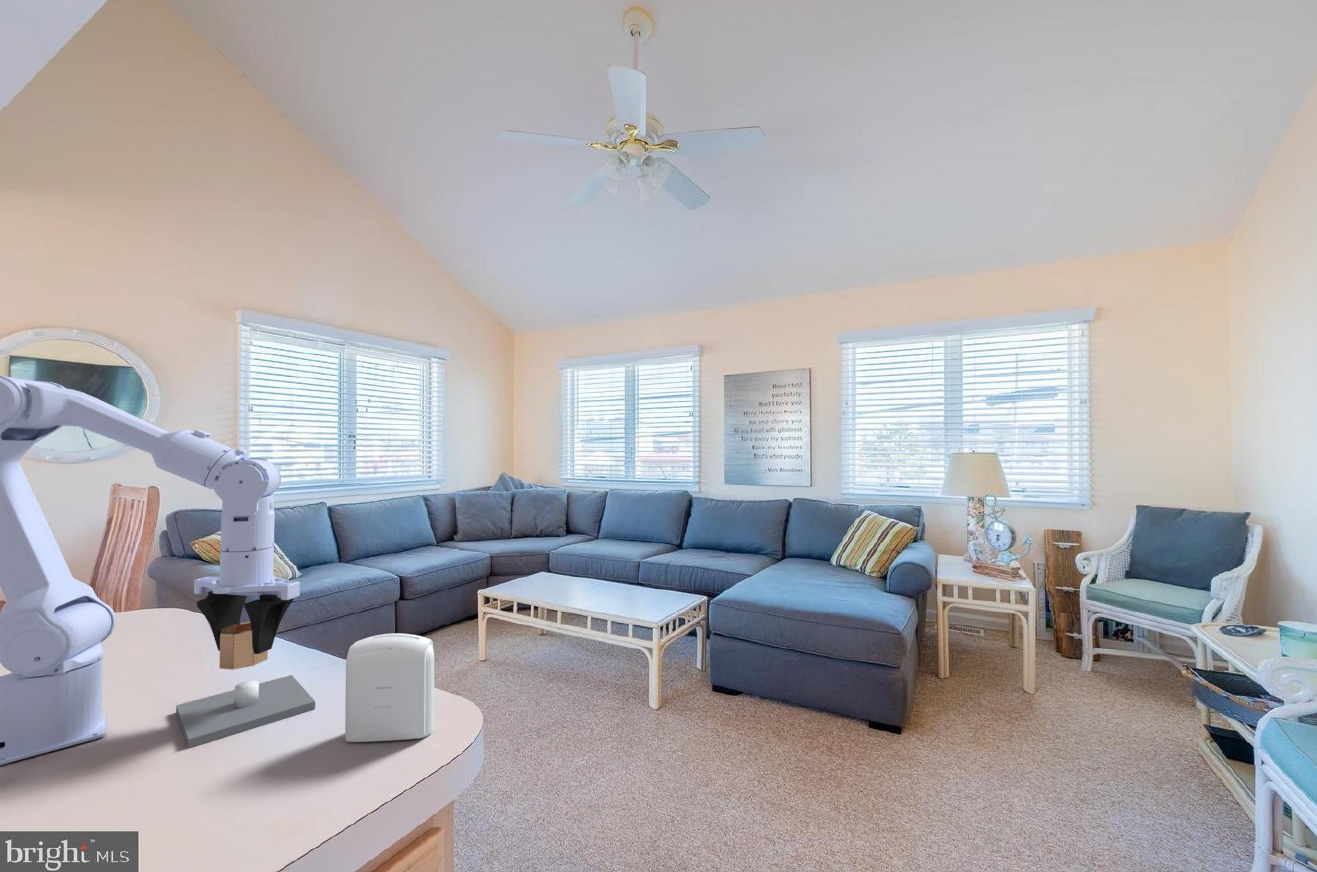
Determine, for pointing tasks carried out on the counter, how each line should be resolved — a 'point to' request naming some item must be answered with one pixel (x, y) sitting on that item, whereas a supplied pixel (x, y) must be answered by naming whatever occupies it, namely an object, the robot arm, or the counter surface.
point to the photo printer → (389, 688)
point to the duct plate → (242, 709)
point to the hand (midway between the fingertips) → (245, 649)
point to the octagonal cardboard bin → (238, 647)
